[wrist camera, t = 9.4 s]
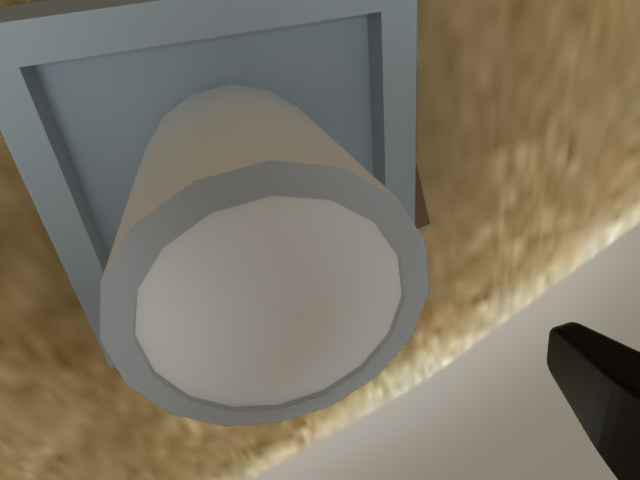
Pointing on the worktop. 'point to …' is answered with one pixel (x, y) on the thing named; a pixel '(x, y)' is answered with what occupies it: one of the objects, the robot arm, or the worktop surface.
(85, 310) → the slab top
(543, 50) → the worktop surface
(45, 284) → the worktop surface
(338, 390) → the shot glass
